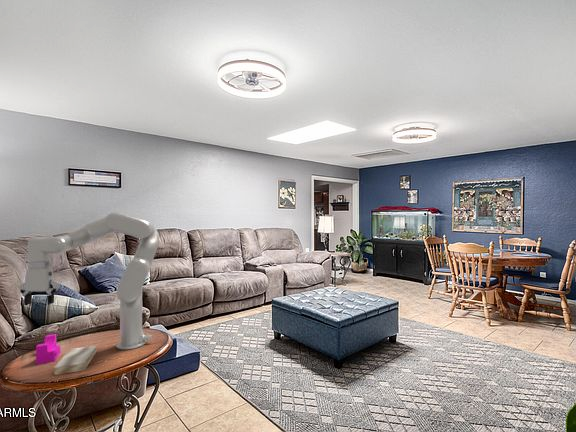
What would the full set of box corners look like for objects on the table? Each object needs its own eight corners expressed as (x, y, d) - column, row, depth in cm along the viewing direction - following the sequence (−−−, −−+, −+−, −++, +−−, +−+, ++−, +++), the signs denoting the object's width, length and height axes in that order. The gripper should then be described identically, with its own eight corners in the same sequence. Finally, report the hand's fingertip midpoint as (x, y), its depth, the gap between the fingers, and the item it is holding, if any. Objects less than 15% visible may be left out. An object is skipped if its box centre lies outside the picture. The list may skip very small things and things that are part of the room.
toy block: (54, 361, 133) (54, 344, 133) (36, 364, 130) (36, 346, 131) (62, 349, 147) (62, 333, 147) (46, 351, 144) (46, 335, 144)
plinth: (96, 352, 142) (96, 345, 142) (84, 370, 124) (84, 362, 124) (70, 355, 138) (70, 348, 138) (54, 375, 120) (54, 367, 120)
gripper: (64, 263, 142) (65, 301, 142) (26, 264, 142) (26, 302, 142) (52, 265, 135) (53, 305, 135) (11, 267, 134) (12, 307, 134)
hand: (39, 304), depth 138 cm, fingers open, 9 cm apart
